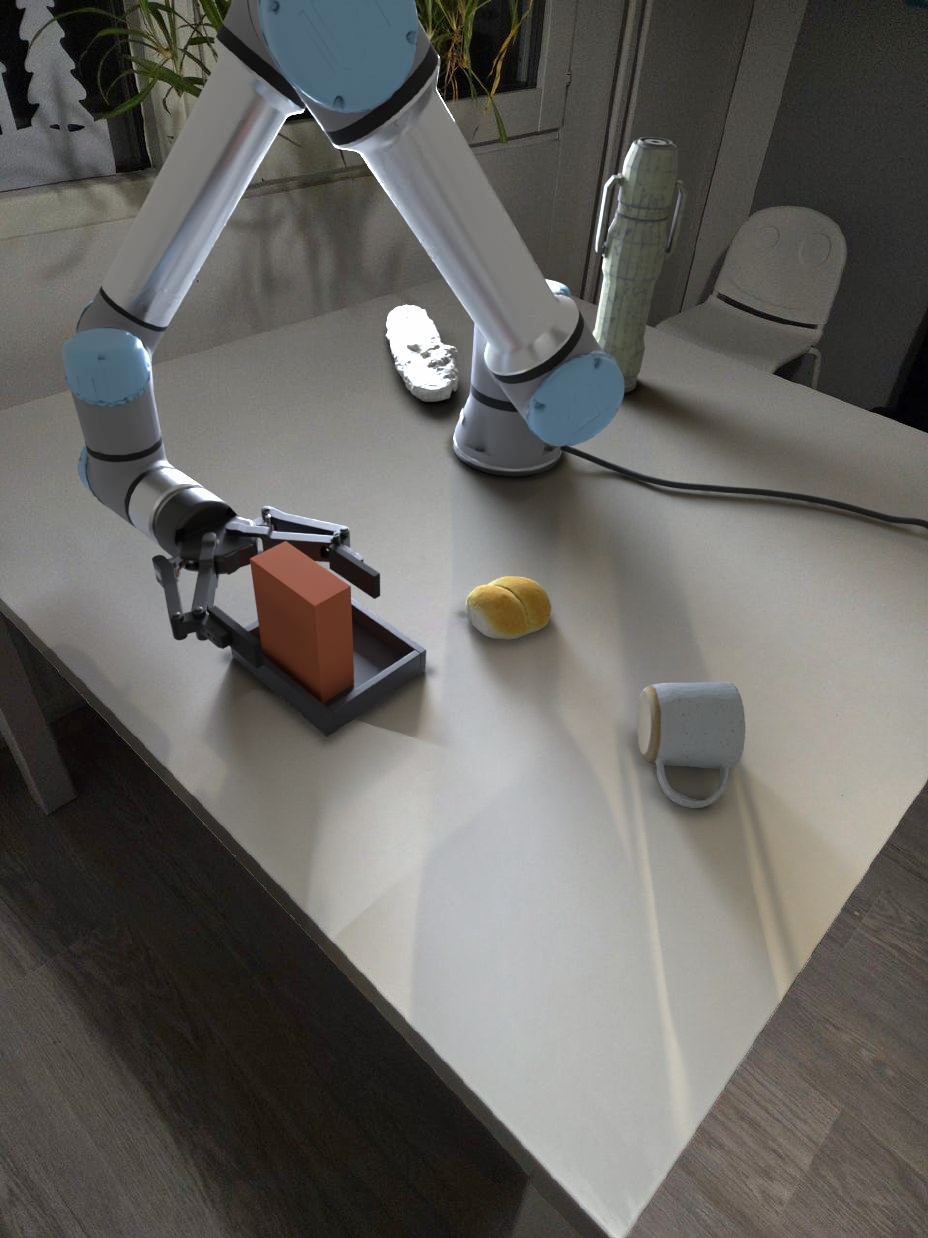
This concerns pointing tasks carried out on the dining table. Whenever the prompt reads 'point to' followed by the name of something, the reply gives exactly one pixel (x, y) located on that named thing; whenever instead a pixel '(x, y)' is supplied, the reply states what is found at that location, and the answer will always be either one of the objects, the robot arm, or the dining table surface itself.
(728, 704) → the ceramic mug
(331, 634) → the reddish orange block
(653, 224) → the thermos
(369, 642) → the tray
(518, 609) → the bread roll
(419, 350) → the elongated rock
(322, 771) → the dining table surface
